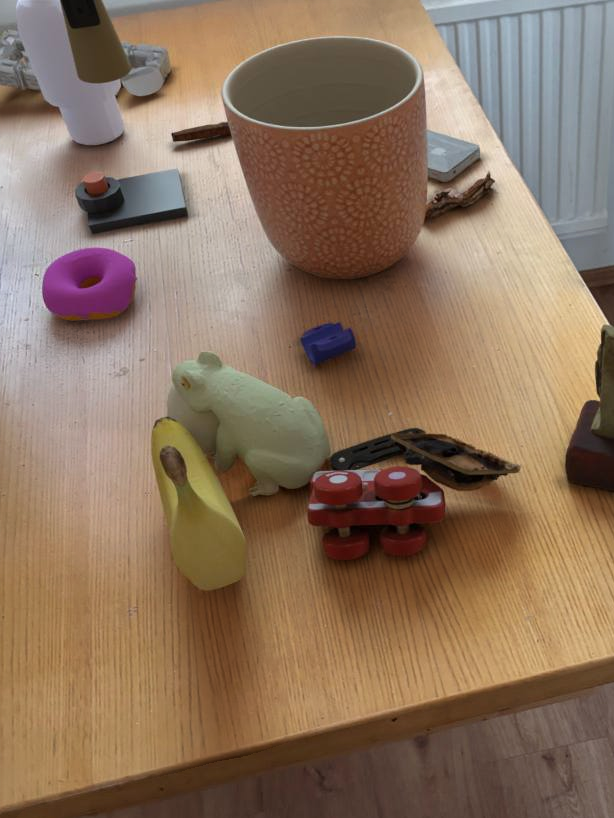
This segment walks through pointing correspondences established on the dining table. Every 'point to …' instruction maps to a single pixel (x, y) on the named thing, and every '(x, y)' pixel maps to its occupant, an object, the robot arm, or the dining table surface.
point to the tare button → (95, 183)
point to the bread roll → (452, 460)
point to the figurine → (248, 423)
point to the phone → (449, 156)
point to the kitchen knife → (201, 132)
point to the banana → (196, 509)
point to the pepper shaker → (98, 50)
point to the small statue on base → (596, 425)
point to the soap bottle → (66, 75)
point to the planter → (333, 150)
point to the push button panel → (134, 201)
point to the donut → (89, 284)
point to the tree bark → (458, 197)
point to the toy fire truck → (374, 509)
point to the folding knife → (368, 452)
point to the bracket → (327, 342)
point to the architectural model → (146, 78)
